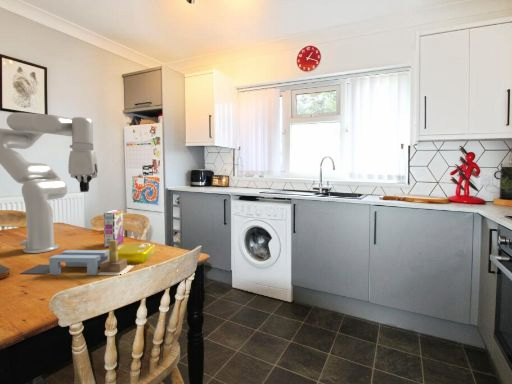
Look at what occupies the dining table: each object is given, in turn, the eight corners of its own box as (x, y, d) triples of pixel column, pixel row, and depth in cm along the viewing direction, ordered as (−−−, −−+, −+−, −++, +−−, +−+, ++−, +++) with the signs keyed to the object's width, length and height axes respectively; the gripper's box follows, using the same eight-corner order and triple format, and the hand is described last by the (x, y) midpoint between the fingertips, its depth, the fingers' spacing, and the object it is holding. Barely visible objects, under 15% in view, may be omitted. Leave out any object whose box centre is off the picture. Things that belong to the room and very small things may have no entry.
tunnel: (49, 274, 100) (49, 257, 99) (67, 265, 109) (66, 249, 108) (95, 275, 100) (95, 258, 99) (109, 265, 109) (109, 250, 109)
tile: (97, 274, 100) (97, 273, 100) (110, 266, 109) (110, 265, 109) (123, 275, 100) (123, 274, 100) (134, 266, 109) (134, 265, 109)
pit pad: (20, 273, 100) (20, 273, 100) (39, 265, 109) (39, 264, 109) (46, 274, 100) (45, 273, 100) (63, 265, 109) (63, 264, 109)
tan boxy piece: (100, 271, 102) (99, 242, 101) (108, 266, 107) (107, 238, 106) (120, 272, 102) (119, 242, 101) (127, 266, 107) (126, 238, 106)
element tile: (121, 253, 127) (121, 242, 126) (155, 252, 128) (155, 242, 127) (106, 264, 112) (105, 252, 111) (145, 264, 113) (145, 252, 113)
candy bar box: (115, 247, 134) (114, 212, 133) (104, 247, 133) (102, 212, 132) (124, 241, 145) (123, 209, 144) (113, 241, 145) (112, 209, 143)
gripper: (59, 147, 116) (60, 192, 117) (95, 147, 116) (97, 192, 117) (70, 148, 123) (72, 190, 125) (105, 148, 123) (106, 191, 125)
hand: (84, 191), depth 121 cm, fingers closed
